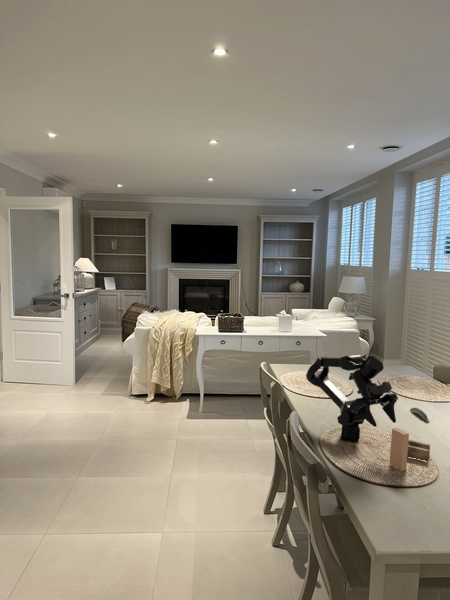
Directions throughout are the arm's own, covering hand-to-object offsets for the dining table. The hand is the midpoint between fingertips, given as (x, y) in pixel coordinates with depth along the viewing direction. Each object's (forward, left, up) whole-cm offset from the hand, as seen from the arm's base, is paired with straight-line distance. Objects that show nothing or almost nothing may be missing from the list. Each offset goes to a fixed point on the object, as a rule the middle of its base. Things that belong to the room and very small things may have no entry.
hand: (385, 424), depth 147 cm
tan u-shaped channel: (+10, +7, -13) cm, 18 cm away
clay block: (+4, -5, -13) cm, 14 cm away
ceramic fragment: (+19, +48, -13) cm, 54 cm away
